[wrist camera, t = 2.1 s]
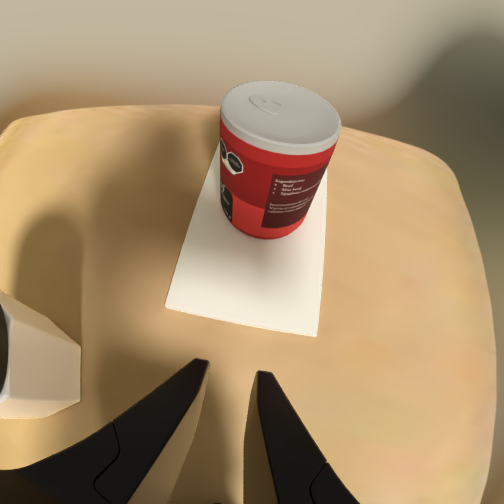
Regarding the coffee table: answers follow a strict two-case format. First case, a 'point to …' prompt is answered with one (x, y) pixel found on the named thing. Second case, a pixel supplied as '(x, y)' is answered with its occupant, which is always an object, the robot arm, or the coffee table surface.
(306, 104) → the canned food
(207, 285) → the letter mat
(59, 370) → the jar
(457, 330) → the coffee table surface
